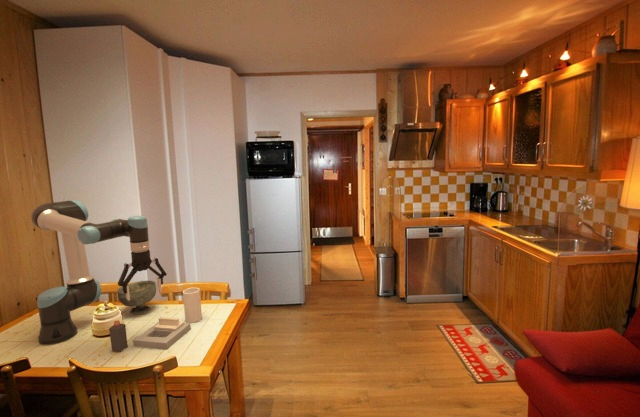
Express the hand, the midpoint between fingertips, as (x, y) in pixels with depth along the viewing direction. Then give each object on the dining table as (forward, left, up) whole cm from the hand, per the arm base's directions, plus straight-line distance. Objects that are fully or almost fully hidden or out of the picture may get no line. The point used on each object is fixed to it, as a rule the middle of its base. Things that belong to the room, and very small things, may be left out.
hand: (144, 295), depth 162 cm
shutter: (+5, +8, -19) cm, 21 cm away
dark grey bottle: (-8, -9, -22) cm, 25 cm away
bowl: (-28, +28, -22) cm, 45 cm away
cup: (+9, +23, -22) cm, 33 cm away
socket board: (+5, +3, -22) cm, 23 cm away
